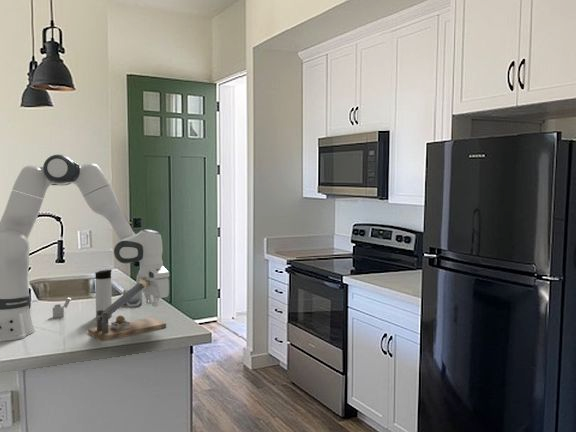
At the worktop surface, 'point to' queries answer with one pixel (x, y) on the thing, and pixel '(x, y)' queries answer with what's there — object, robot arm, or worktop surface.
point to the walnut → (120, 319)
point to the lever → (125, 297)
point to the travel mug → (103, 290)
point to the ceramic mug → (134, 299)
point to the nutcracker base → (129, 331)
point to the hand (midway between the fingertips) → (152, 305)
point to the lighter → (60, 309)
